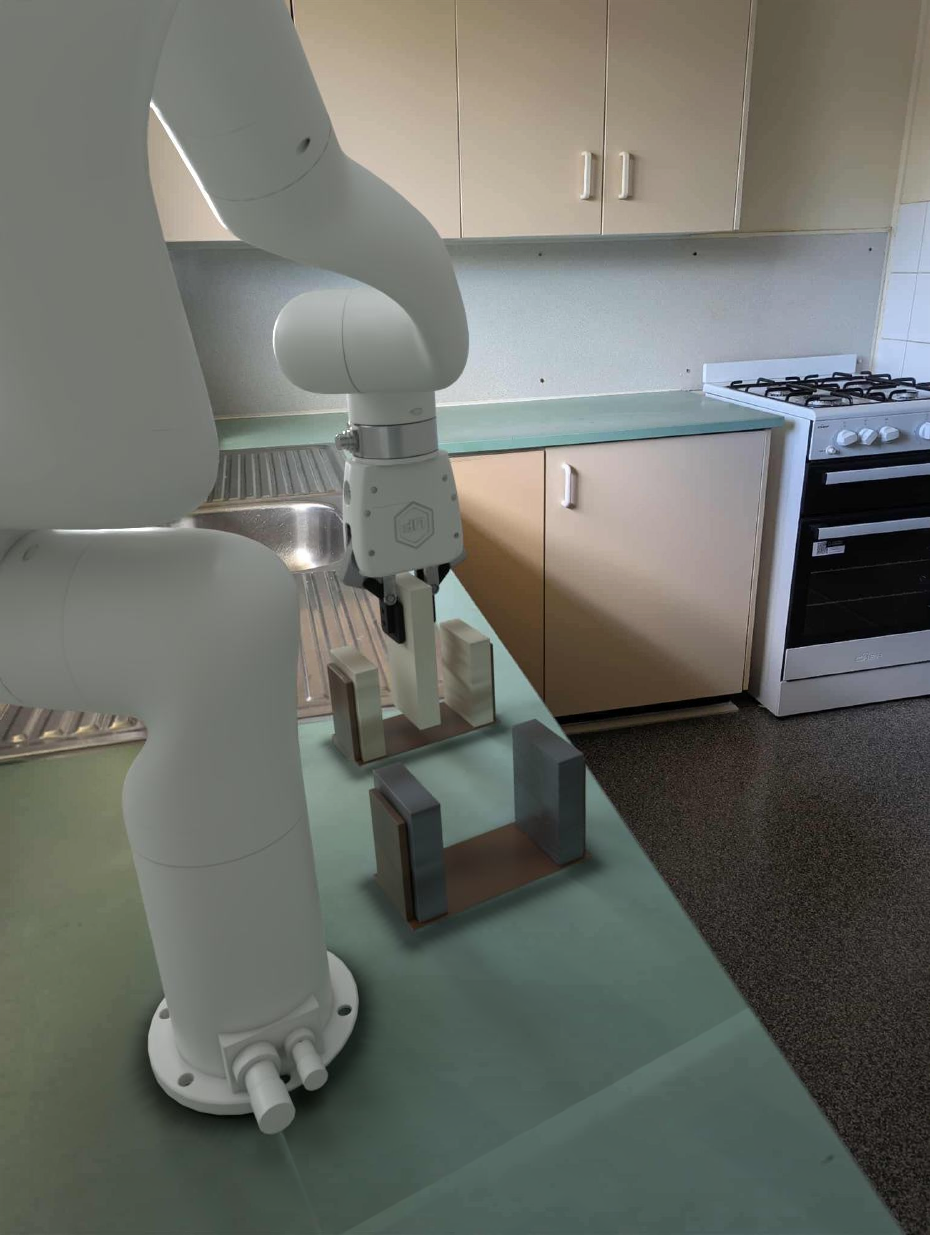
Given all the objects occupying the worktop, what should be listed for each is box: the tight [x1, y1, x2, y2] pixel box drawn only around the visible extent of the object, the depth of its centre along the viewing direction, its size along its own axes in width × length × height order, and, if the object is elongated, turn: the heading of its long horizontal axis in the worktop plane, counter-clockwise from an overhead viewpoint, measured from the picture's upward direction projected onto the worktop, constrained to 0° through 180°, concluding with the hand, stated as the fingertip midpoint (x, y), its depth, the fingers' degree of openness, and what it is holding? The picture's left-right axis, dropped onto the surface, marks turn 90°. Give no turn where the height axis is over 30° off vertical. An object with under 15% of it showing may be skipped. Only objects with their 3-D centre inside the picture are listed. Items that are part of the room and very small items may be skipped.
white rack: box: [326, 617, 501, 767], centre depth 85 cm, size 7×15×10 cm, turn 119°
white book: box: [385, 571, 441, 730], centre depth 83 cm, size 6×2×14 cm, turn 29°
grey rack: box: [368, 718, 594, 932], centre depth 64 cm, size 7×15×10 cm, turn 119°
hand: (409, 633), depth 82 cm, fingers closed on white book, 2 cm apart
